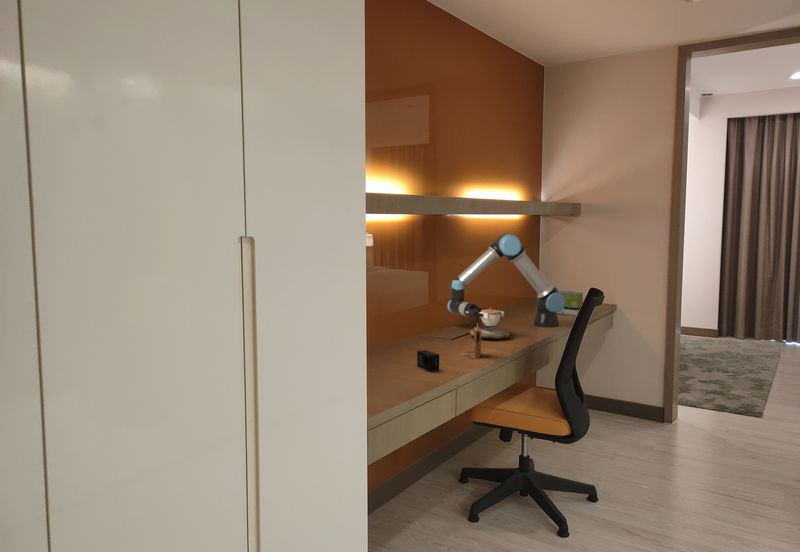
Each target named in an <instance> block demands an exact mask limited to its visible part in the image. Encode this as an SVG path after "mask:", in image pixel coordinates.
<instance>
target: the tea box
mask: <svg viewBox="0 0 800 552" xmlns="http://www.w3.org/2000/svg"><path fill="white" fill-rule="evenodd" d="M559 293H561V294H562V295H563V296H564V297H565V300H566V304H565V307H564V308H563V309H562V310H561V311H560V312H557V314H564V315H571V316H576V315H577V313H578V311H579V309H580V307H581V305H582V306H583V302H584V301H583V299H584V293H583V292H579V291H569V290H561V291H559ZM577 316H578V315H577Z"/></svg>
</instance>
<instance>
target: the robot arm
mask: <svg viewBox="0 0 800 552" xmlns="http://www.w3.org/2000/svg"><path fill="white" fill-rule="evenodd" d="M503 256H504V257H505V258H506V260H507V261H508V262H509V263H510V262H511V263H513V264H514V266H515V267H516V268H517V269H518V270H519V271H520V273H521V275H523V276H524V278H525V279H526V280H527V282H528V283H529V284H530V286H531V287H532V288H533V290H534V291H535V292H536V293H537V294H536V297H537V299H536V312H535V313H536V314H535V317H534V319H533V325H534V326H538V327H542V328H543V327H544V328H556V327H560V321H559V316H558V313H557V312H560V311H561V310H562V309H563V308H564V307H565V304H566V300H565V297H564V296H563V295H562V294H561V293H559V292H560V291H559V290H558V288H557V287H555V285H554V284H550V283H549V282H548V280H547V279H546V277H544V275H543V274H542V272H541V271H540V270H539V269H538V268H537V266H536V265H535V264H534V262H533V261H532V260H531V259H530V258H529V256H528V255H527V254H526V248H525V247H524V246H523V244H522V242H521V240H520V238H519V237H518V236H516V235H514V234H510V233H509V234H508V233H505V234H501V235H500V236H498V237H497V238H496V239H495V240H494V241H493V242H492V243H491V244H490V245H489V246H488V249H487V250H486V251H485V252H484V253H483V254H482V255H480V256H479V257H478V258H477V259H476V260H475V261H473V263H472V264H470V265H469V266H468V267H467V268H466V269H465V270H464V271H463V272H461V273H460V275H458V276H457V277H456V278H455V279H456V280H455V279H453V280H451V281H452V284H451V287H450V290H449V292H450V291H451V292H450V295H451V296H450V297H451V298H450V300H448V302H447V304H446V305H447V306H446V307H447V310H448V312H450V313H453V314H456V315H462V316H464V317H470V318H478V316H479V315H480V316H479V318H481V317H482V318H487V319H489V314H488V313H483V312H481V310H486V309H489V308H487V307H480V306H478V305H476V304H475V303H472V302H467V301H465V288H466V287H467V286H468V285H469V284H470V283H471V282H472V281H474V280H475V279H476V278H477V277H478V276H479V275H480V274H482V273H483V272H484V271H485V270H486V269H487V268H489V266H491V265H492V264H493V263H494V262H495V261H496V260H497V259H501V258H502V257H503ZM492 310H499V309H497V308H492ZM500 311H501V313H500V317H505V311H502V310H500ZM477 314H478V316H477Z"/></svg>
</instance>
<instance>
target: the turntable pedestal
mask: <svg viewBox="0 0 800 552" xmlns="http://www.w3.org/2000/svg"><path fill="white" fill-rule="evenodd" d="M481 339H485V340H498V339H499V338H482V337H481Z"/></svg>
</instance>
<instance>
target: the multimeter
mask: <svg viewBox="0 0 800 552" xmlns="http://www.w3.org/2000/svg"><path fill="white" fill-rule="evenodd" d="M477 316H478V314H477ZM477 316H476V317H475V318H476V319H475V322H476V323H475V324H474V328H473V329H474V336H473V350H472V353H473V356H474V358H479V359H482V355H481V353H482V352H481V351H482V338H481V329H480V328H481V327H479V323H480V320H479V318H480V317H479V316H480V315H479V316H478V318H477ZM468 353H469V351H466V352H463V353H461V355H462V356H467V357H470V355H469V354H468ZM474 358H473V357H470V359H472V360H474Z"/></svg>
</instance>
